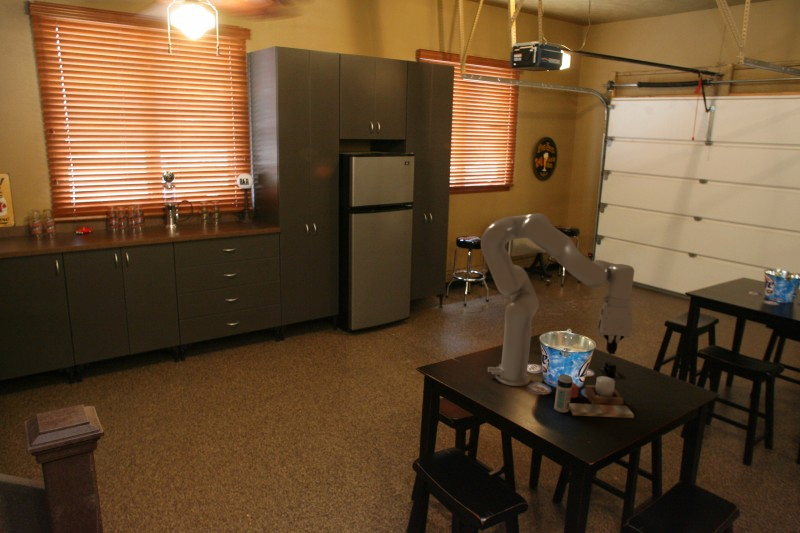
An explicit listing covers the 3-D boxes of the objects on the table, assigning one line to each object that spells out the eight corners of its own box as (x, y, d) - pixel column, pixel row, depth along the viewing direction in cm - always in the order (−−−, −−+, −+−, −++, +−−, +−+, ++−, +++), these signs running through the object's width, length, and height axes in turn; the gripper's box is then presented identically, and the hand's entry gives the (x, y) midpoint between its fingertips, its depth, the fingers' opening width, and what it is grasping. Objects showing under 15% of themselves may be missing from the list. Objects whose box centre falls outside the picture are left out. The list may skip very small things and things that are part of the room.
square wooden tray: (593, 406, 199) (594, 397, 199) (584, 392, 209) (585, 384, 208) (622, 407, 200) (623, 399, 199) (612, 394, 209) (613, 386, 209)
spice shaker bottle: (567, 407, 198) (571, 374, 195) (569, 414, 193) (574, 380, 190) (552, 406, 198) (557, 373, 195) (555, 412, 193) (559, 379, 190)
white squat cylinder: (598, 396, 201) (600, 383, 200) (592, 389, 207) (594, 375, 205) (615, 397, 201) (617, 384, 200) (609, 389, 207) (611, 376, 205)
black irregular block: (594, 367, 233) (595, 356, 232) (612, 367, 234) (613, 357, 233) (606, 381, 221) (608, 370, 220) (625, 381, 222) (627, 370, 221)
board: (573, 415, 192) (573, 411, 192) (567, 405, 199) (568, 402, 198) (633, 418, 193) (634, 414, 192) (626, 408, 199) (626, 405, 199)
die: (567, 398, 204) (568, 387, 203) (561, 392, 208) (562, 382, 207) (577, 397, 205) (579, 386, 204) (571, 392, 209) (572, 381, 208)
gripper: (599, 303, 192) (592, 356, 196) (644, 305, 192) (636, 357, 196) (591, 297, 199) (585, 347, 203) (635, 298, 199) (628, 349, 204)
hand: (610, 352), depth 200 cm, fingers closed
